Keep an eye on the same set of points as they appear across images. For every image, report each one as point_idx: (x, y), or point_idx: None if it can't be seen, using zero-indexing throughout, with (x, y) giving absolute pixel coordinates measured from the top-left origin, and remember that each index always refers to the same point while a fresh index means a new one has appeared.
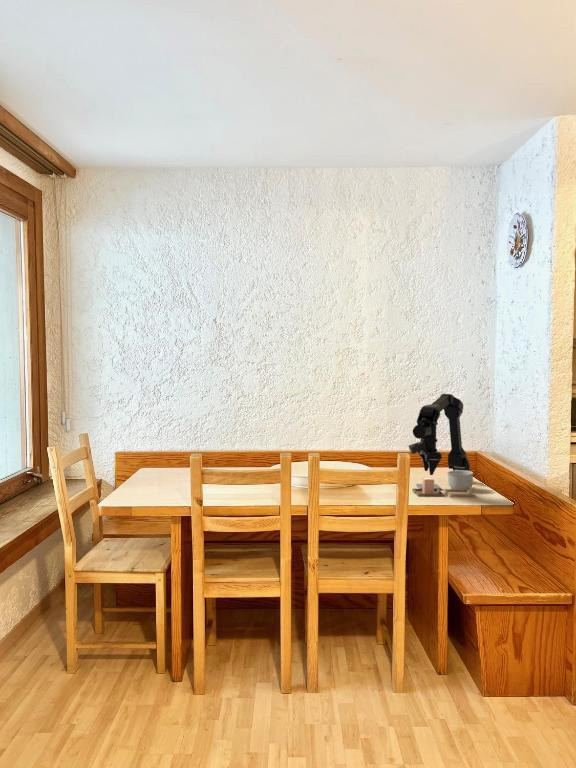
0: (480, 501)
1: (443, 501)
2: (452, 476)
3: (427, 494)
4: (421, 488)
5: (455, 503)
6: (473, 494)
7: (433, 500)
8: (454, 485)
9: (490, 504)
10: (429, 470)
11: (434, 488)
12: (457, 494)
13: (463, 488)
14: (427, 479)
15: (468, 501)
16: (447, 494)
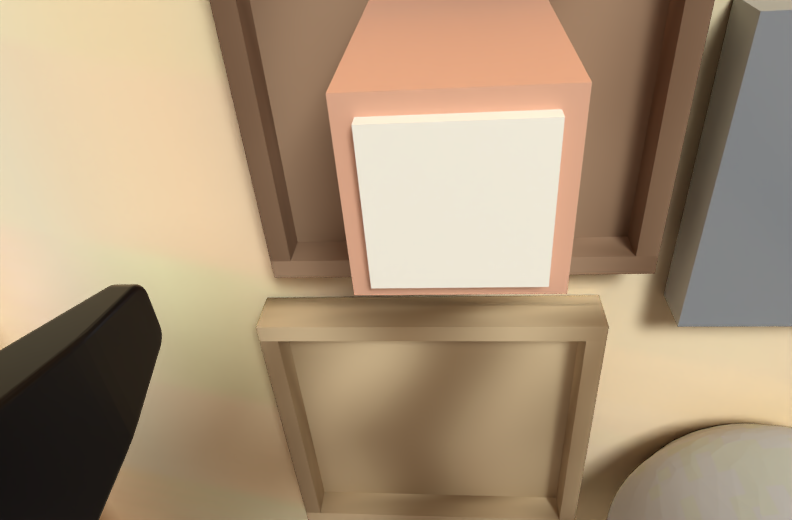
0: (202, 487)
1: (71, 196)
2: None
3: (221, 34)
4: (753, 18)
5: (22, 295)
6: (346, 509)
7: (80, 79)
8: (666, 475)
9: (113, 513)
10: (2, 362)
11: (698, 236)
12: (425, 403)
13: (610, 507)
14: (359, 170)
15: (170, 415)
16: (367, 313)
